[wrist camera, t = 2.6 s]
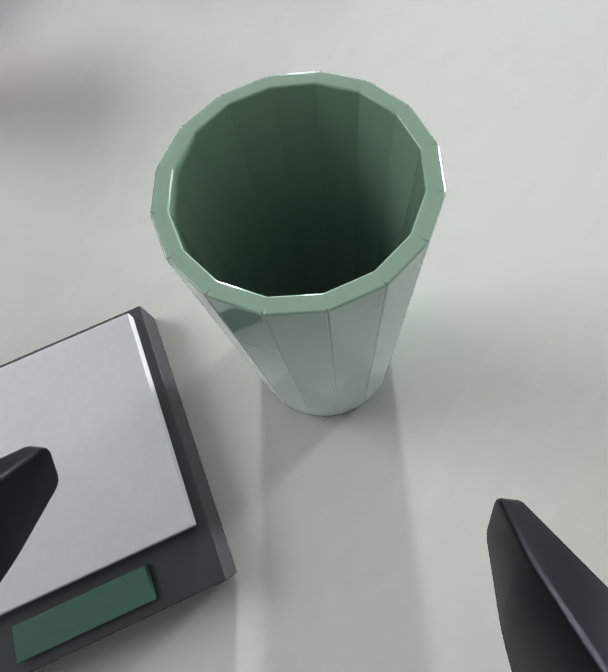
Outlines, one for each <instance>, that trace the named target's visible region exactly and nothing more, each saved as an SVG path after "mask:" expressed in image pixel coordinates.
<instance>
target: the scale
mask: <svg viewBox="0 0 608 672" xmlns="http://www.w3.org/2000/svg"><path fill="white" fill-rule="evenodd" d="M27 446H36V447H44V448H47V449H48V450H49V451H50V452H51V455H52V458H53V461H54V464H55V467H56V470H57V473H58V477H59V481H58V485H57V488H56V490H55V492H54V494H53V496H52V497H51V499H50V501H49V503H48V504H47V506H46V508H45V510H44V511H43V513H42V515H41V517H40V519H39V520H38V522H37V524H36V526H35V527H34V529H33V531H32V533H31V534H30V536H29V538H28V540H27V542H26V543H25V545H24V547H23V548H22V550H21V552H20V553H19V555H18V557H17V559H16V560H15V562H14V563H13V565H12V566H11V568H10V569H9V571H8V572H7V574H6V575H5V577H4V578H3V580H2V581H1V582H0V672H32V671H34V670H36V669H38V668H40V667H42V666H45V665H47V664H49V663H51V662H53V661H55V660H57V659H59V658H62V657H64V656H66V655H68V654H70V653H72V652H74V651H76V650H79V649H81V648H83V647H85V646H87V645H89V644H91V643H93V642H96V641H98V640H100V639H102V638H104V637H106V636H108V635H111V634H113V633H115V632H117V631H119V630H121V629H123V628H125V627H128V626H130V625H132V624H134V623H136V622H138V621H140V620H142V619H145V618H147V617H149V616H151V615H153V614H155V613H157V612H159V611H162V610H164V609H166V608H168V607H170V606H172V605H174V604H176V603H179V602H181V601H183V600H185V599H187V598H189V597H191V596H193V595H196V594H198V593H200V592H202V591H204V590H206V589H208V588H211V587H213V586H215V585H217V584H219V583H221V582H223V581H225V580H227V579H228V578H229V577H231V576H232V575H233V574H235V573H236V568H235V565H234V562H233V559H232V556H231V553H230V550H229V547H228V544H227V540H226V537H225V534H224V531H223V528H222V525H221V522H220V519H219V516H218V513H217V510H216V507H215V504H214V501H213V497H212V494H211V491H210V488H209V485H208V482H207V479H206V476H205V473H204V470H203V467H202V464H201V461H200V458H199V454H198V451H197V448H196V445H195V442H194V439H193V436H192V433H191V430H190V427H189V424H188V421H187V418H186V415H185V411H184V408H183V405H182V402H181V399H180V396H179V393H178V390H177V387H176V384H175V381H174V378H173V375H172V372H171V368H170V365H169V362H168V359H167V356H166V353H165V350H164V347H163V344H162V341H161V338H160V335H159V332H158V329H157V325H156V322H155V319H154V318H153V317H152V316H151V315H150V314H149V313H147V312H146V311H145V310H144V309H143V308H142V307H141V306H139V307H136V308H134V309H132V310H129V311H127V312H125V313H122V314H120V315H118V316H115V317H113V318H111V319H108V320H106V321H104V322H101V323H99V324H97V325H94V326H92V327H90V328H87V329H85V330H83V331H80V332H78V333H76V334H73V335H71V336H69V337H66V338H64V339H62V340H59V341H57V342H55V343H52V344H50V345H48V346H45V347H43V348H41V349H38V350H36V351H34V352H31V353H29V354H27V355H24V356H22V357H20V358H18V359H15V360H13V361H11V362H8V363H6V364H4V365H1V366H0V458H2V457H4V456H6V455H8V454H11V453H13V452H15V451H17V450H19V449H21V448H24V447H27Z"/></svg>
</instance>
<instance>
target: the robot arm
mask: <svg viewBox="0 0 608 672" xmlns="http://www.w3.org/2000/svg"><path fill="white" fill-rule="evenodd" d="M58 481H59V477H58V473H57V470H56V467H55V464H54V461H53V458H52V455H51V452H50V451H49V450H48V449H47V448H44V447H36V446H27V447H24V448H21V449H19V450H17V451H15V452H13V453H11V454H8V455H6V456H4V457H2V458H0V582H1V581H2V580H3V578H4V577H5V575H6V574H7V572H8V571H9V569H10V568H11V566H12V565H13V563H14V562H15V560H16V559H17V557H18V555H19V553H20V552H21V550H22V548H23V547H24V545H25V543H26V542H27V540H28V538H29V536H30V534H31V533H32V531H33V529H34V527H35V526H36V524H37V522H38V520H39V519H40V517H41V515H42V513H43V511H44V510H45V508H46V506H47V504H48V503H49V501H50V499H51V497H52V496H53V494H54V492H55V490H56V488H57V485H58ZM487 544H488V550H489V556H490V563H491V569H492V576H493V582H494V588H495V595H496V601H497V607H498V614H499V620H500V625H501V631H502V635H503V639H504V643H505V648H506V651H507V655H508V659H509V663H510V666H511V670H512V672H608V587H607V586H606V585H605V584H604V583H603V582H602V581H601V580H600V579H599V578H598V577H597V576H596V575H595V574H594V573H593V572H592V571H591V570H590V569H589V568H588V567H587V566H586V565H585V564H584V563H583V562H582V561H581V560H580V559H579V558H578V557H577V556H576V555H575V554H574V553H573V552H572V551H571V550H570V549H569V548H568V547H567V546H566V545H565V544H564V543H563V542H562V541H561V540H560V539H559V538H558V537H557V536H556V535H555V534H554V533H553V532H552V531H551V530H550V529H549V528H548V527H547V526H546V525H545V524H544V523H543V522H542V521H541V520H540V519H539V518H538V517H537V516H536V515H535V514H534V513H533V512H532V511H531V510H530V509H529V508H528V507H527V506H526V505H525V504H524V503H523V502H521V501H519V500H512V499H503V498H500V499H497V500H496V502H495V504H494V507H493V511H492V514H491V518H490V522H489V525H488V529H487Z"/></svg>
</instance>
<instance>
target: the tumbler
mask: <svg viewBox="0 0 608 672" xmlns="http://www.w3.org/2000/svg"><path fill="white" fill-rule="evenodd" d="M445 193H446V188H445V182H444V175H443V169H442V163H441V156H440V150H439V146H438V144H437V142H436V140H435V139H434V137H433V136H432V135H431V133H430V132H429V131H428V129H427V128H426V127H425V125H424V124H423V122H422V121H421V120H420V118H419V117H418V116H417V114H416V113H415V111H414V110H413V109H412V107H410V106H409V105H408V104H407V103H405V102H403V101H401V100H400V99H398V98H396V97H395V96H393V95H391V94H390V93H388V92H386V91H384V90H383V89H381V88H379V87H378V86H376V85H374V84H373V83H371V82H367V81H366V80H361V79H356V78H351V77H346V76H341V75H336V74H331V73H326V72H321V71H320V72H317V71H314V72H304V73H294V74H284V75H274V76H268V77H264V78H261V79H259V80H257V81H254V82H252V83H249V84H247V85H244V86H242V87H239V88H237V89H234V90H232V91H229V92H227V93H225V94H222V95H221V96H219V97H217V98H216V99H215V100H213V101H212V102H211V103H210V104H209V105H207V106H206V107H205V108H204V109H202V110H201V111H200V112H199V113H198V114H196V115H195V116H194V117H193V118H191V119H190V120H189V121H188V122H187V123H185V124H184V125H183V126H182V128H180V130H179V131H178V133H177V135H176V136H175V138H174V140H173V141H172V143H171V145H170V146H169V148H168V150H167V151H166V153H165V155H164V156H163V158H162V160H161V161H160V163H159V165H158V166H157V169H156V174H155V182H154V190H153V198H152V206H151V219H152V221H153V224H154V227H155V230H156V232H157V235H158V238H159V241H160V244H161V246H162V249H163V252H164V255H165V258H166V260H167V261H168V263H169V264H170V265H171V266H172V268H173V269H174V270H175V271H176V273H177V274H178V275H179V276H180V278H181V279H182V280H183V282H184V283H185V284H186V285H187V287H188V288H189V289H190V290H191V292H192V293H193V294H194V295H195V297H196V298H197V299H198V300H199V302H200V303H201V304H202V305H203V307H204V308H205V309H206V310H207V312H208V313H209V314H210V315H211V317H212V318H213V319H214V320H215V322H216V323H217V324H218V325H219V327H220V328H221V329H222V330H223V332H224V333H225V334H226V335H227V337H228V338H229V339H230V340H231V342H232V343H233V344H234V345H235V347H236V348H237V349H238V350H239V352H240V353H241V354H242V356H243V357H244V358H245V359H246V361H247V362H248V363H249V364H250V366H251V367H252V368H253V369H254V371H255V372H256V373H257V374H258V376H259V377H260V378H261V379H262V381H263V382H264V383H265V384H266V386H267V387H268V388H269V389H270V390H271V391H272V392H273V393H274V394H275V395H276V396H277V397H278V398H279V399H280V400H281V401H282V402H283V403H285V404H286V405H288V406H289V407H291V408H293V409H295V410H297V411H299V412H302V413H306V414H309V415H315V416H332V415H338V414H342V413H345V412H348V411H350V410H353V409H355V408H356V407H358V406H360V405H361V404H363V403H364V402H366V401H367V400H368V399H369V398H370V397H371V396H372V395H373V394H374V393H375V391H376V390H377V389H378V388H379V386H380V385H381V384H382V382H383V380H384V377H385V374H386V371H387V368H388V365H389V362H390V360H391V357H392V354H393V351H394V348H395V345H396V342H397V339H398V336H399V333H400V330H401V327H402V324H403V321H404V318H405V315H406V312H407V309H408V306H409V303H410V300H411V297H412V294H413V291H414V288H415V285H416V282H417V279H418V276H419V273H420V270H421V267H422V264H423V261H424V258H425V255H426V252H427V249H428V246H429V243H430V240H431V237H432V234H433V231H434V228H435V225H436V222H437V219H438V217H439V214H440V211H441V208H442V205H443V202H444V199H445V196H446V194H445Z"/></svg>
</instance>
